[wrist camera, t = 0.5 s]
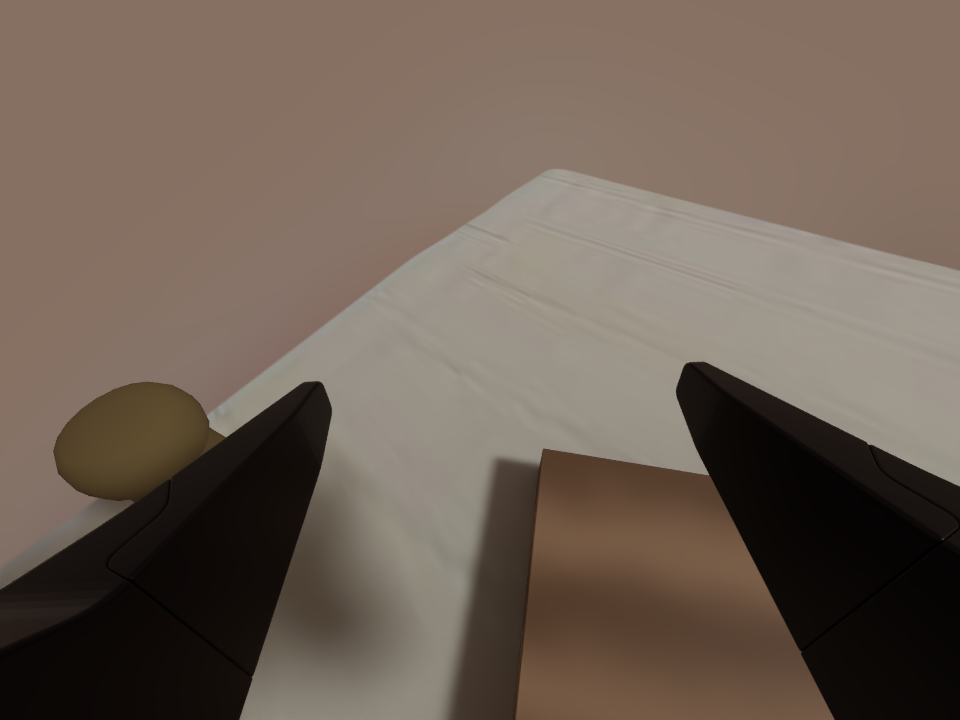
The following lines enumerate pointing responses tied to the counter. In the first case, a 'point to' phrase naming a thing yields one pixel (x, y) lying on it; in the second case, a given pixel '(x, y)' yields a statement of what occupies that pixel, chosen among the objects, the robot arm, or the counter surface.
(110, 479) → the cork
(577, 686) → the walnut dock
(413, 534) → the counter surface
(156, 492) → the robot arm
